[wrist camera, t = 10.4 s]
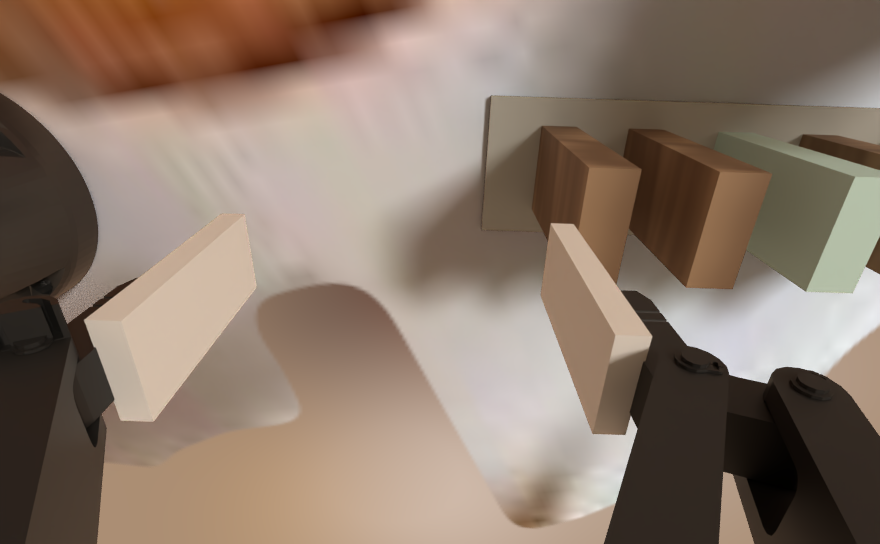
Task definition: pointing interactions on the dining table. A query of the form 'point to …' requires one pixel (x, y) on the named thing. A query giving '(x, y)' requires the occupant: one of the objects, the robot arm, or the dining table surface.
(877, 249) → the domino
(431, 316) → the dining table surface
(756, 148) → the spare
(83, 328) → the robot arm
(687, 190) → the domino
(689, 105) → the runner
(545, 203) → the domino
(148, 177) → the dining table surface
